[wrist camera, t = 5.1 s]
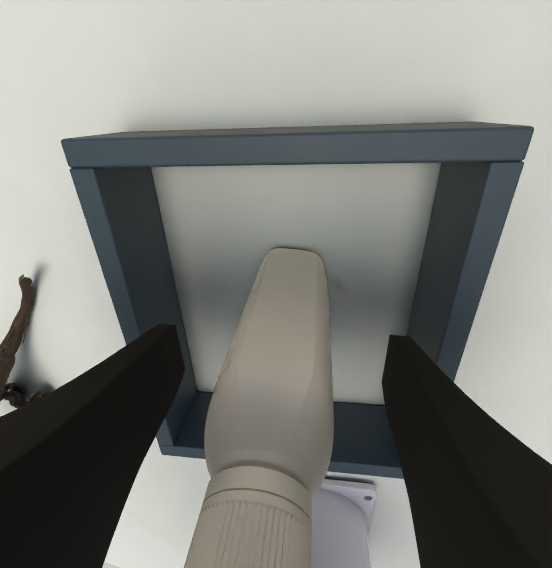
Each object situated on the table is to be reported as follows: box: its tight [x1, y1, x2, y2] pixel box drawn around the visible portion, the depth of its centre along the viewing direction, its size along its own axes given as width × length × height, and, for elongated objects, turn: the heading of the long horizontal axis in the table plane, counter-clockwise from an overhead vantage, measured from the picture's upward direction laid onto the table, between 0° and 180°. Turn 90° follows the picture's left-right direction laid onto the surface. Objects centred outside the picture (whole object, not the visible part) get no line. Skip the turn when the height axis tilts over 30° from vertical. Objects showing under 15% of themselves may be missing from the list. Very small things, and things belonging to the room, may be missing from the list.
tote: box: [61, 122, 534, 479], centre depth 13 cm, size 15×13×4 cm
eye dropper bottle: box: [184, 248, 334, 568], centre depth 10 cm, size 4×6×12 cm
